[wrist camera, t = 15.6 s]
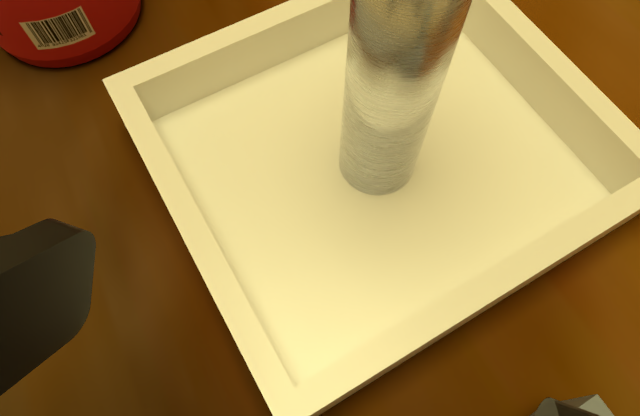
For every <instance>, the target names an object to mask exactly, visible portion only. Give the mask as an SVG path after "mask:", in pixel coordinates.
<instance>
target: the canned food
mask: <svg viewBox="0 0 640 416" xmlns="http://www.w3.org/2000/svg"><path fill="white" fill-rule="evenodd" d="M140 6H141V0H0V47H2V48H3V49H4V50H5V51H7V52H8V53H10V54H11V55H13V56H14V57H16V58H18V59H19V60H21V61H24V62H26V63H28V64H31V65H35V66H40V67H50V68H59V67H69V66H74V65H78V64H82V63H86V62H88V61H91V60H93V59H96V58H98V57H100V56H102V55H104V54H105V53H107V52H109V51H110V50H112V49H113V48H115V47H116V46H117V45H118V44H120V43H121V42H122V41H123V40H124V39H125V38H126V37H127V35H128V34H129V33H130V32H131V31H132V29H133V27H134V26H135V24H136V22H137V19H138V17H139V14H140Z"/></svg>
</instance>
